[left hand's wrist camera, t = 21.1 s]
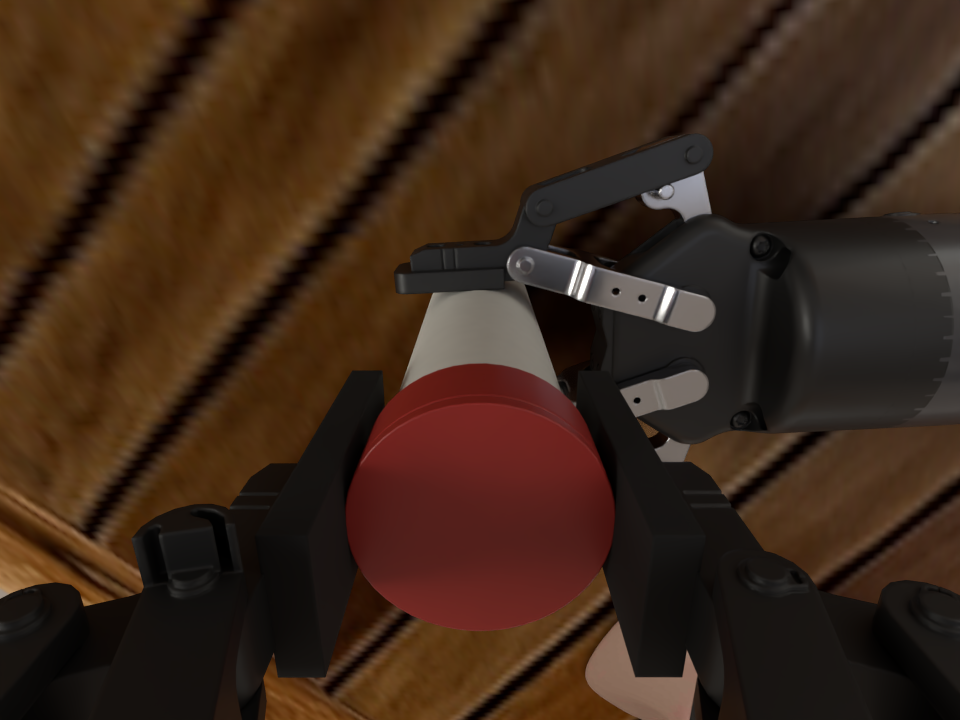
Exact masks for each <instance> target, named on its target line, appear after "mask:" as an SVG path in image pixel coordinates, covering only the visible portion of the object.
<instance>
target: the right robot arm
mask: <svg viewBox="0 0 960 720" xmlns="http://www.w3.org/2000/svg"><path fill="white" fill-rule="evenodd" d="M712 157H713V147H712V144H711V142H710V140H709V139H708V138H707V137H705V136H704V135H701V134H688V135H678V136H668V137H664V138H661V139H659V140H656V141H653V142H650V143H648V144H645V145H642V146H639V147H636V148H634V149H631V150H628V151H625V152H623V153H620V154H617V155H614V156H612V157H609V158H606V159H603V160H601V161H598V162H595V163H592V164H589V165H587V166H584V167H581V168H578V169H576V170H573V171H570V172H567V173H565V174H562V175H559V176H556V177H554V178H551V179H548V180H545V181H543V182H540V183H537V184H534V185H532V186H529V187H528V188H527V189H526V190H525V191H524V192H523V194H522V196H521V201H520V206H519V210H518V213H517V216H516V219H515V222H514V225H513V227H512V229H511V231H510V232H509V233H508V234H507V235H506V236H504V237H502V238H500V239H497V240H485V241H466V242H447V243H428V244H426V245H424V246H422V247H420V248H417V249H415V250H414V251H413V253H412V254H411V256H410V262H408V263H403V264H400V265H399V266H398V267H397V268H396V270H395V271H394V277H395V287H396V293H399V294H421V293H440V292H460V291H474V290H499V289H505V285H504V281H517V282H519V283H523V284H526V285H530V286H534V287H538V288H542V289H546V290H550V291H554V292H558V293H561V294H565V295H568V296H571V297H572V298H574V299H576V300H579V301H582V302H585V303H589V304H591V310H592V314H593V318H594V322H595V325H596V332H595V336H594V339H593V342H592V346H591V353H590V360H588V361H585V362H582V363H580V364H577V365H574V366H571V367H568V368H566V369H565V370H563V371H562V373H561V374H560V375H558V376H556V378H557V381H558V384H559V387H560V390H561V392H562V393H563V394H564V395H565V396H566V397H567V398H568V399H569V400H570V401H571V402H572V403H573V405H574V406H575V407H576V398H577V383H578V371H609V373H610V375H611V376H612V378H613V380H614V381H615V383H616V385H617V386H618V388H619V390H620V392H621V393H622V395H623V397H624V398H625V400H626V402H627V403H628V405H629V407H630V408H631V410H632V412H633V414H634V415H635V417H636V418H638V419H639V420H641V421H643V422H644V423H646V424H647V425H649V426H651V427H652V428H654V429H655V430H657V431H659V432H658V433H657V434H656V435H655V436H653V437H650V438H648V439H649V441H650V442H651V444H652V446H653V447H654V449H655V451H656V452H657V454H658V456H659V457H660V459H661V461H662V462H684V459H685V457H686V455H687V452H688V450H689V447H690V445H691V444H697V443H701V442H704V441H706V440H708V439H710V438H711V437H713V436H715V435H718V434H720V433H723V432H727V431H733V430H739V431H750V432H759V433H791V432H812V431H833V430H855V429H876V428H897V427H918V426H938V425H953V424H960V213H938V214H920V213H912V212H898V213H890V214H885V215H883V216H881V217H865V218H845V219H826V220H808V221H789V222H771V223H752V224H738V223H734V222H732V221H730V220H728V219H727V218H725V217H723V216H721V215H717V214H712V213H711V208H710V203H709V198H708V193H707V188H706V183H705V178H704V173H703V171H704V170H705V169H706V168H707V167H708V166H709V164H710V163H711V160H712ZM632 197H635V198H636V200H637V201H638V202H639V203H640V204H641V205H643V206H645V207H649V208H652V209H665V208H669V209H670V210H671V211H672V212H673V214H674V215H675V219H674V220H673V221H671V222H670V223H669V224H668V225H666V226H665V227H664V228H662V229H661V230H660V231H658V232H657V233H656V234H654V235H653V236H652V237H650V238H649V239H648V240H646V241H645V242H644V243H642V244H641V245H640V246H638V247H637V248H636V249H634V250H633V251H632V252H630V253H629V254H628V255H626V256H625V257H624V258H622V259H621V260H620V261H619V260H615V259H611V258H608V257H604V256H600V255H596V254H592V253H589V252H585V251H581V250H577V249H568V248H564V247H560V246H556V245H552V244H550V241H551V238H552V235H553V232H554V229H555V226H556V224H558V223H561V222H564V221H566V220H569V219H572V218H575V217H578V216H581V215H583V214H586V213H589V212H592V211H595V210H598V209H600V208H603V207H606V206H609V205H612V204H615V203H618V202H620V201H623V200H626V199H629V198H632Z"/></svg>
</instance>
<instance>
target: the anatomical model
mask: <svg viewBox="0 0 960 720" xmlns="http://www.w3.org/2000/svg"><path fill="white" fill-rule="evenodd" d="M585 676H586V680H587V682H588V684H589V686H590V687H591V688H592V689H593V690H594V691H595V692H596V693H597V694H599V695H600V696H601V697H602V698H604V699H605V700H607V701H609V702H610V703H612V704H613V705H615V706H617V707H618V708H620V709H622V710H623V711H625V712H627V713H629V714H631V715H633V716H635V717H638V718H640V719H642V720H689V719H690V714H691V708H692V703H693V697H694V692H695V686H696V680H697V673H696V670H695V668H694V665H693V663H692V661H691V658H690V656H689V653H688V651H687V653H686V659H685V665H684V671H683V677H635V675H634V672H633V668H632V665H631V662H630V658H629V655H628V651H627V648H626V645H625V641H624V638H623V635H622V631H621V628H620V624H619V621H618V622H617V623H616V624H615V625H614V626H613V627H612V628H611V630H610V631H609V632H608V633H607V634H606V636H605V637H604V638H603V640H602V641H601V642H600V644H599V645H598V646H597V648H596V649H595V651H594V653H593V654H592V656H591V658H590V660H589V662H588V664H587V667H586V672H585Z"/></svg>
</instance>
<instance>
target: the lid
mask: <svg viewBox="0 0 960 720" xmlns="http://www.w3.org/2000/svg"><path fill="white" fill-rule="evenodd" d="M345 515H346V526H347V536H348V543H349V547H350V550H351V552H352V555H353V557H354V559H355V561H356V564H357V565H358V567H359V568H360V570H361V572H362V573H363V575H364V576H365V578H366V579H367V580H368V581H369V582H370V584H371V585H372V586H373V587H374V588H375V589H376V590H377V591H378V592H379V593H380V594H381V595H382V596H383V597H384V598H385V599H387V600H388V601H390V602H391V603H392V604H394V605H395V606H397V607H398V608H400V609H401V610H403V611H405V612H407V613H408V614H410V615H412V616H414V617H417V618H419V619H422V620H424V621H426V622H429V623H433V624H436V625H439V626H443V627H448V628H453V629H459V630H471V631H492V630H500V629H508V628H512V627H517V626H521V625H525V624H528V623H531V622H534V621H537V620H539V619H542V618H544V617H546V616H548V615H550V614H552V613H554V612H556V611H557V610H559V609H561V608H562V607H564V606H566V605H567V604H568V603H570V602H571V601H572V600H574V599H575V598H576V597H577V596H579V595H580V594H581V593H582V592H583V591H584V590H585V589H586V588H587V587H588V586H589V585H590V583H591V582H592V581H593V579H594V578H595V577H596V576H597V574H598V573H599V571H600V569H601V568H602V566H603V564H604V562H605V561H606V559H607V556H608V554H609V551H610V548H611V546H612V541H613V532H614V522H615V499H614V495H613V490H612V486H611V484H610V481H609V479H608V476H607V474H606V471H605V469H604V466H603V464H602V461H601V458H600V456H599V453H598V451H597V448H596V446H595V443H594V441H593V438H592V436H591V433H590V431H589V429H588V426H587V424H586V422H585V420H584V419H583V417H582V415H581V414H580V412H579V411H578V409H577V408H576V407H575V406H574V405H573V403H572V402H571V401H570V400H569V399H568V398H567V397H566V396H565V395H564V394H563V393H562V392H561V391H559V390H558V389H557V388H555V387H554V386H553V385H551V384H550V383H548V382H547V381H545V380H543V379H541V378H539V377H537V376H535V375H533V374H531V373H528V372H526V371H523V370H520V369H517V368H513V367H509V366H504V365H497V364H488V363H475V364H463V365H456V366H451V367H448V368H444V369H440V370H437V371H435V372H432V373H430V374H427V375H425V376H423V377H421V378H419V379H418V380H416V381H414V382H412V383H411V384H409V385H408V386H407V387H405V388H404V389H403V390H401V391H400V392H399V393H398V394H397V395H396V396H395V397H394V398H393V399H392V400H391V401H390V402H389V403H388V404H387V405H386V406H385V408H384V409H383V410H382V412H381V413H380V414H379V416H378V418H377V420H376V421H375V423H374V425H373V427H372V429H371V432H370V434H369V437H368V440H367V442H366V445H365V447H364V450H363V452H362V455H361V457H360V460H359V462H358V465H357V468H356V470H355V472H354V475H353V478H352V480H351V483H350V486H349V489H348V492H347V498H346V503H345Z"/></svg>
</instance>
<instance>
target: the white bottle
mask: <svg viewBox="0 0 960 720" xmlns="http://www.w3.org/2000/svg"><path fill="white" fill-rule="evenodd" d="M504 285H505V289H499V290H474V291H460V292H440V293H433V295H432V298H431V301H430V304H429V306H428V309H427V312H426V315H425V318H424V321H423V324H422V327H421V330H420V333H419V336H418V339H417V342H416V345H415V347H414V350H413V353H412V356H411V359H410V362H409V365H408V368H407V371H406V374H405V377H404V380H403V383H402V386H401V388H400V391H401V390H403V389H404V388H405V387H407V386H408V385H409V384H411V383H412V382H414V381H416V380H418V379H419V378H421V377H423V376H425V375H427V374H430V373H432V372H435V371H437V370H440V369H444V368H448V367H451V366H456V365H463V364H475V363H488V364H497V365H504V366H509V367H513V368H517V369H520V370H523V371H526V372H528V373H531V374H533V375H535V376H537V377H539V378H541V379H543V380H545V381H547V382H548V383H550V384H551V385H553V386H554V387H555V388H557V389H558V390H559V391H561V390H560V387H559V384H558V381H557V378H556V375H555V372H554V369H553V366H552V363H551V361H550V358H549V355H548V352H547V349H546V346H545V343H544V340H543V337H542V334H541V331H540V328H539V325H538V323H537V320H536V317H535V314H534V311H533V308H532V305H531V302H530V299H529V296H528V293H527V290H526V288H525V285H524V284H523V283H519V282H517V281H504ZM400 391H399V392H400Z"/></svg>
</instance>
